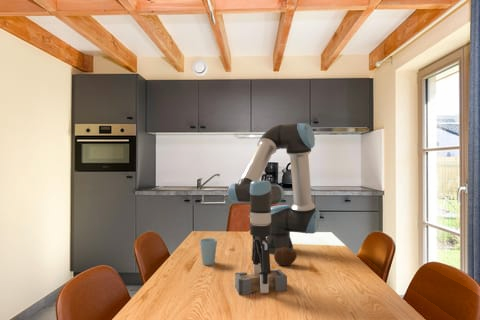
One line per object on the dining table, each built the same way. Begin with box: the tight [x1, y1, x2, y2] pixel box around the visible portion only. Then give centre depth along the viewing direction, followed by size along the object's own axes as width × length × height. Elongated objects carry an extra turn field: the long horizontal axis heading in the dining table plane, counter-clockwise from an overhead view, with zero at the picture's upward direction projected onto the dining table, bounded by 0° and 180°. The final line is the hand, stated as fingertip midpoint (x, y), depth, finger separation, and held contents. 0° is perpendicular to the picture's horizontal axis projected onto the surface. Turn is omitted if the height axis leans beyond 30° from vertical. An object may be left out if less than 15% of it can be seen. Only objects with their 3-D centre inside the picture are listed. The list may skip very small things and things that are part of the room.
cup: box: [199, 237, 218, 266], centre depth 141 cm, size 8×8×10 cm
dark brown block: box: [240, 273, 279, 293], centre depth 111 cm, size 14×4×5 cm, turn 102°
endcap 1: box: [234, 271, 252, 296], centre depth 110 cm, size 4×7×5 cm, turn 12°
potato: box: [273, 247, 298, 266], centre depth 138 cm, size 7×10×8 cm
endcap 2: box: [271, 269, 288, 292], centre depth 113 cm, size 4×7×5 cm, turn 12°
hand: (260, 287), depth 112 cm, fingers open, 9 cm apart
